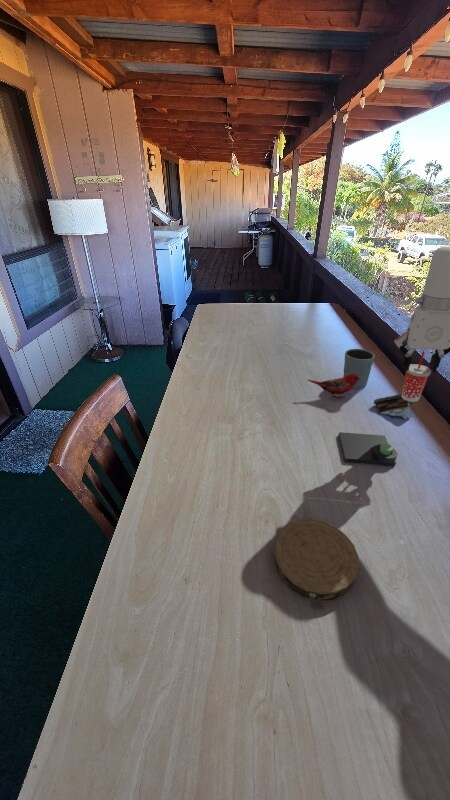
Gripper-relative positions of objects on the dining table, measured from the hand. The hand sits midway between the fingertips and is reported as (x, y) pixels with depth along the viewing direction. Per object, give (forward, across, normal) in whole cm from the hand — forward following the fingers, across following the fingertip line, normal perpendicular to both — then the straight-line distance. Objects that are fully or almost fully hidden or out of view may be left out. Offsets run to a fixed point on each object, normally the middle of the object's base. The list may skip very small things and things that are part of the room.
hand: (418, 368), depth 94 cm
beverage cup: (+9, 0, 0) cm, 9 cm away
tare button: (+19, -8, -13) cm, 24 cm away
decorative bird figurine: (+21, -18, +19) cm, 34 cm away
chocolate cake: (+22, +1, +12) cm, 25 cm away
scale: (+21, -12, -10) cm, 26 cm away
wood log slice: (+22, -29, -47) cm, 59 cm away
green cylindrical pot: (+21, -8, +32) cm, 39 cm away
